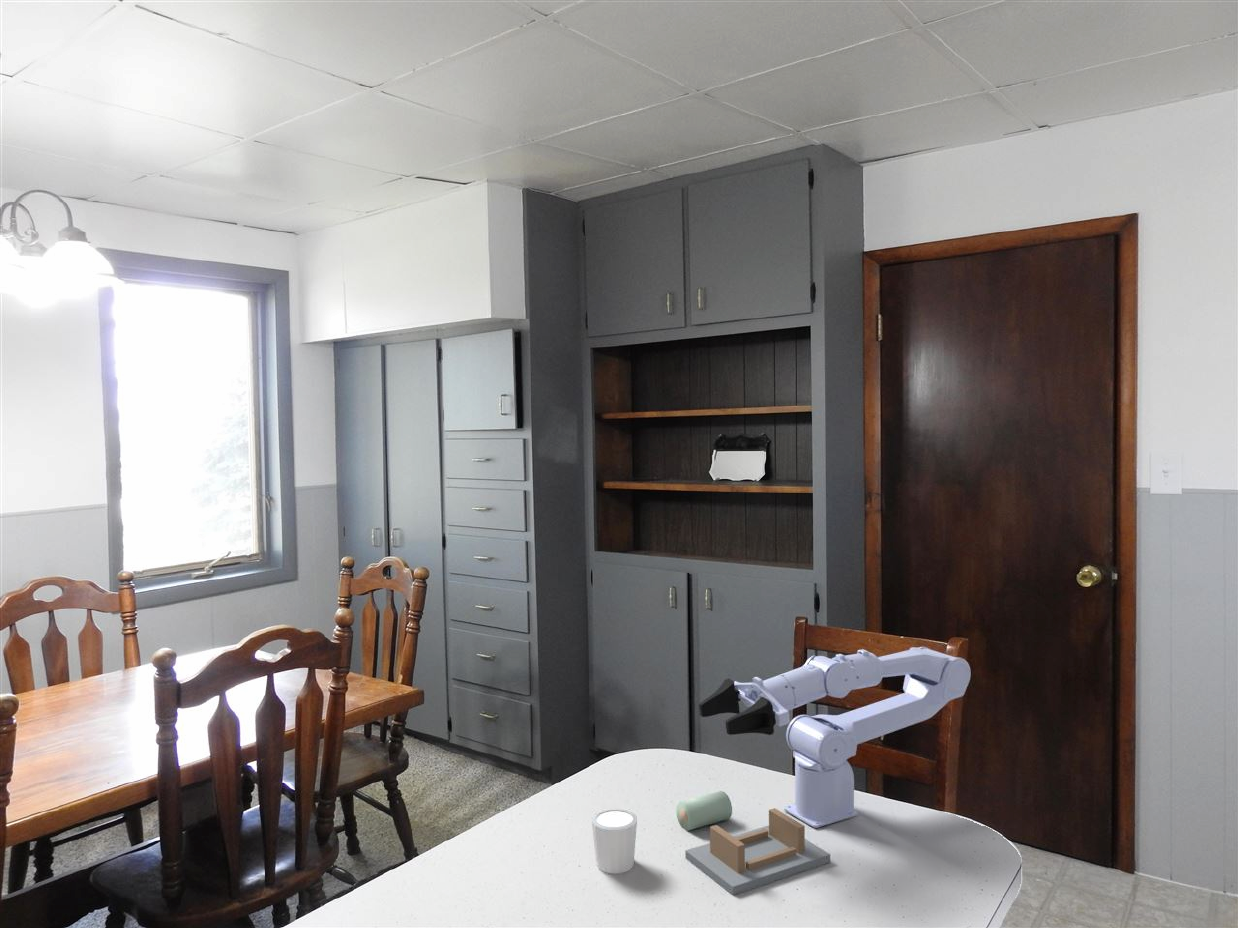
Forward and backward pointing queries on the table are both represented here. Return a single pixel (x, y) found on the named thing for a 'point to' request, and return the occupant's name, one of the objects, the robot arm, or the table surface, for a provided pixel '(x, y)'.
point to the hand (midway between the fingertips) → (713, 718)
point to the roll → (704, 810)
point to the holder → (757, 854)
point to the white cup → (614, 840)
